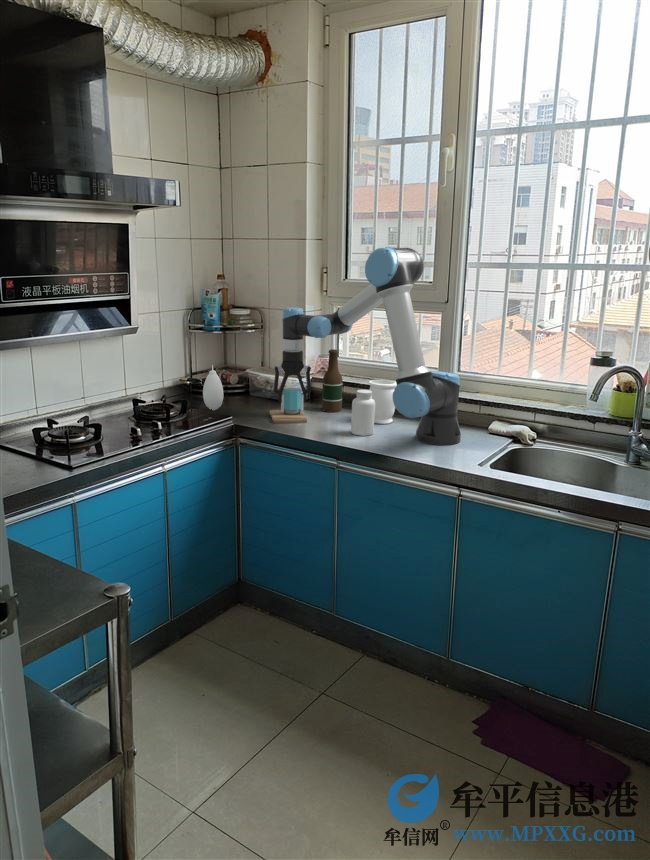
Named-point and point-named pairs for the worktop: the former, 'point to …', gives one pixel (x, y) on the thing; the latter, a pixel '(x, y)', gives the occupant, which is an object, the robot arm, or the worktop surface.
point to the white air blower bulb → (213, 391)
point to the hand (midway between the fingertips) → (292, 410)
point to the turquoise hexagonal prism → (292, 398)
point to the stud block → (287, 416)
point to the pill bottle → (363, 413)
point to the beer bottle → (332, 385)
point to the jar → (383, 400)
